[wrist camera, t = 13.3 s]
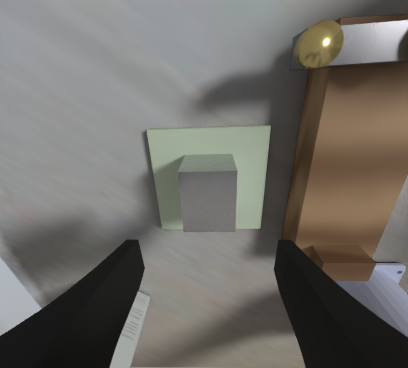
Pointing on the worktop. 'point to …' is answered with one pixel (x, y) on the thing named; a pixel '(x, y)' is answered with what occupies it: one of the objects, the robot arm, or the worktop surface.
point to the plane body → (349, 162)
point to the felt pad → (211, 144)
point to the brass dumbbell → (350, 45)
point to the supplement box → (130, 333)
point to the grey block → (208, 192)
